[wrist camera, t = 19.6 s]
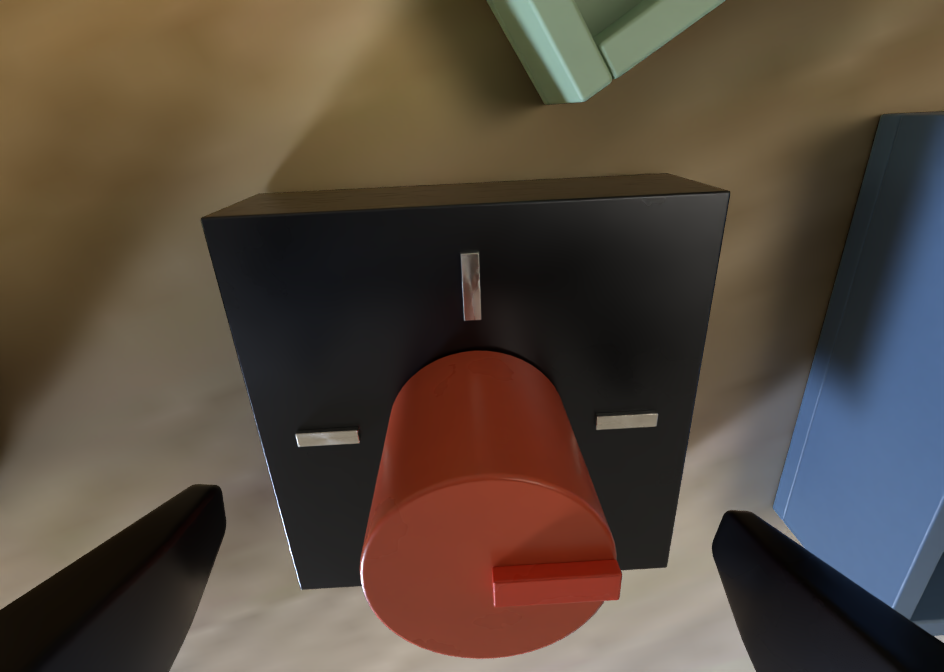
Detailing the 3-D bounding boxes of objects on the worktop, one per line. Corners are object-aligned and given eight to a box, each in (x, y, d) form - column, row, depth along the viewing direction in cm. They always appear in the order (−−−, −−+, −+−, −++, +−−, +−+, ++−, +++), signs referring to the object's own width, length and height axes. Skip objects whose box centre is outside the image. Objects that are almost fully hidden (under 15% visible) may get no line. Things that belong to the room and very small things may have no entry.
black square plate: (326, 509, 16) (298, 595, 13) (257, 193, 12) (194, 219, 9) (631, 491, 16) (669, 573, 13) (668, 173, 12) (736, 192, 9)
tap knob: (399, 500, 12) (373, 687, 8) (379, 353, 10) (335, 500, 6) (561, 490, 12) (614, 671, 8) (568, 344, 10) (637, 483, 7)
